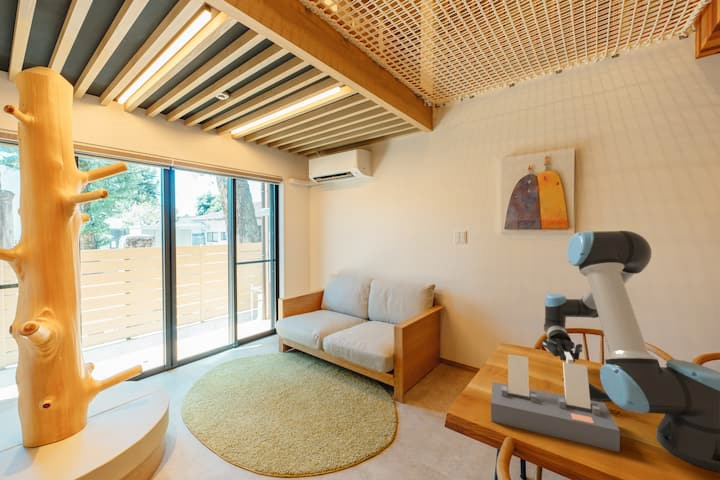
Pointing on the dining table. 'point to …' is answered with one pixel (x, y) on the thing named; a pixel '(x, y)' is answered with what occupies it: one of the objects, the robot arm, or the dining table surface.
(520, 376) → the lever
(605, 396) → the phone
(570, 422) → the switch unit
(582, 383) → the lever
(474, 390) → the dining table surface
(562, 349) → the robot arm
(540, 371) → the dining table surface
